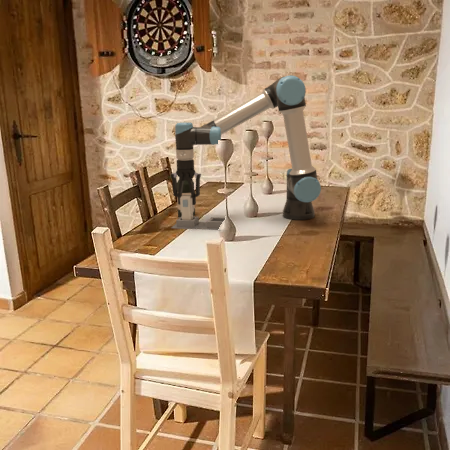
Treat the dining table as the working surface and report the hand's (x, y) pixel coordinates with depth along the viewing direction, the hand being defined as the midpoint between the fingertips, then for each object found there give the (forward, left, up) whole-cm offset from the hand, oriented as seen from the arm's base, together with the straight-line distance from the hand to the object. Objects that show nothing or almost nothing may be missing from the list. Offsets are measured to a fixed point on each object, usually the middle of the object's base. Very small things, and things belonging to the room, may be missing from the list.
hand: (187, 211), depth 220 cm
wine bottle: (+6, -18, -7) cm, 20 cm away
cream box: (0, 0, -5) cm, 5 cm away
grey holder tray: (-7, 0, -7) cm, 10 cm away
